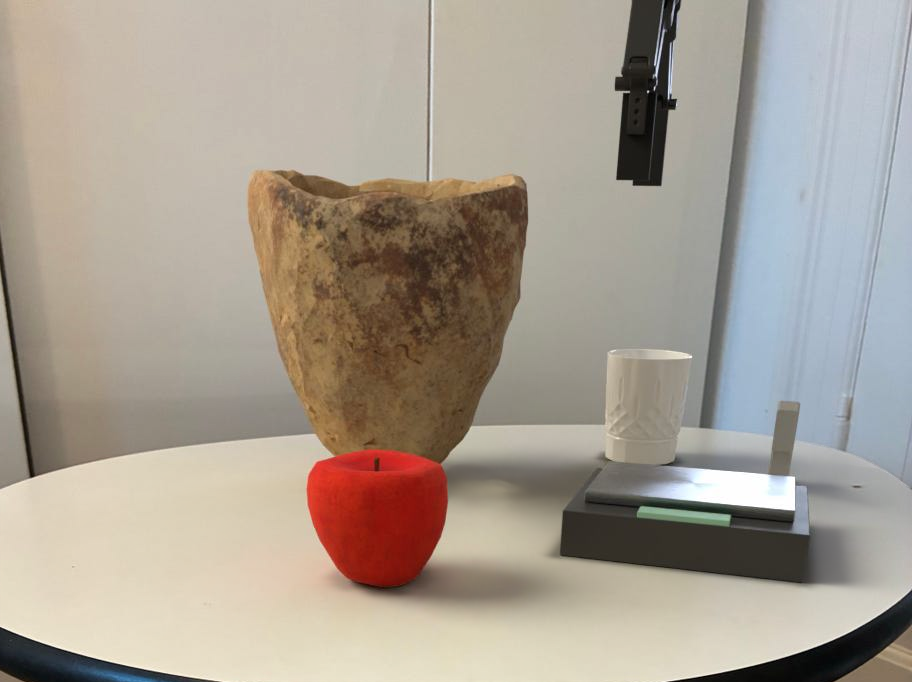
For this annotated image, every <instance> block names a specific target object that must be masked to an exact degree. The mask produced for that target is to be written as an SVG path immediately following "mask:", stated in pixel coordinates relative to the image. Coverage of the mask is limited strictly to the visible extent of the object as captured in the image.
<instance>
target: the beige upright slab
mask: <svg viewBox="0 0 912 682" xmlns="http://www.w3.org/2000/svg"><path fill="white" fill-rule="evenodd" d="M800 411H801V403H800V402H799V401H793V400H792V401H791V400H779V401H778V403H777V410H776V415H775V423H774V429H773V436H772V437H773V438H772V444H771V451H770V452H771V453H770V459H769V465H768V473H767V475H777V476H788V477H790V473H791V472H790V471H791V465H792V458H793V453H794V448H795V442H796V441H795V440H796V436H797V429H798V423H799V416H800Z"/></svg>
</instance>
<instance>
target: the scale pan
mask: <svg viewBox="0 0 912 682" xmlns="http://www.w3.org/2000/svg"><path fill="white" fill-rule="evenodd" d="M795 485H796V476H789V477H788V476H777V475H768V474H766V473H765V474H764V473H753V472H742V471H731V470H730V471H729V470H719V469H718V470H717V469H707V468H694V467H684V466H672V465H671V466H669V465H649V464H638V463H626V462H615V461H612V460H609V461H608V462H607V463H606V464H605V465H604V467H603V469H602V471H601V472H600V473H599V474H598V476H597V477H596V478H595V480H594V481H593V482H592V483H591V485H590V486H589V487H588V488H587V490H586V491H585V500H584V501H585V502H593V503H603V504H614V505H624V506H634V507H641V506H645V507H655V508H665V509H676V510H686V511H696V512H706V513H717V514H727V515H731V516H736V517H746V518H756V519H766V520H776V521H787V522H794V518H795V512H796V498H795Z"/></svg>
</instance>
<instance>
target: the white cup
mask: <svg viewBox="0 0 912 682" xmlns="http://www.w3.org/2000/svg"><path fill="white" fill-rule="evenodd" d="M692 362H693V355H692V354H690V353H687V352H682V351H675V350H667V349H653V348H651V349H650V348H621V349H620V348H619V349H612V350H609V351H607V355H606V379H605V380H606V381H605V382H606V383H605V384H606V385H605V387H606V388H605V411H604V415H605V418H604V419H605V425H604V429H605V458H606V459H608V460H609V461H615V462H626V463H638V464H649V465H661V466H663V465H668V464H670V463H671V464H672V463H673V462H674V461H675V460H676V459H675V458H676V453H677V445H678V439H679V437H678V435H679V434H680V432H681V427H682V422H683V417H684V412H685V407H686V399H687V393H688V386H689V380H690V379H689V378H690V373H691V369H692V368H691V367H692Z"/></svg>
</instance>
